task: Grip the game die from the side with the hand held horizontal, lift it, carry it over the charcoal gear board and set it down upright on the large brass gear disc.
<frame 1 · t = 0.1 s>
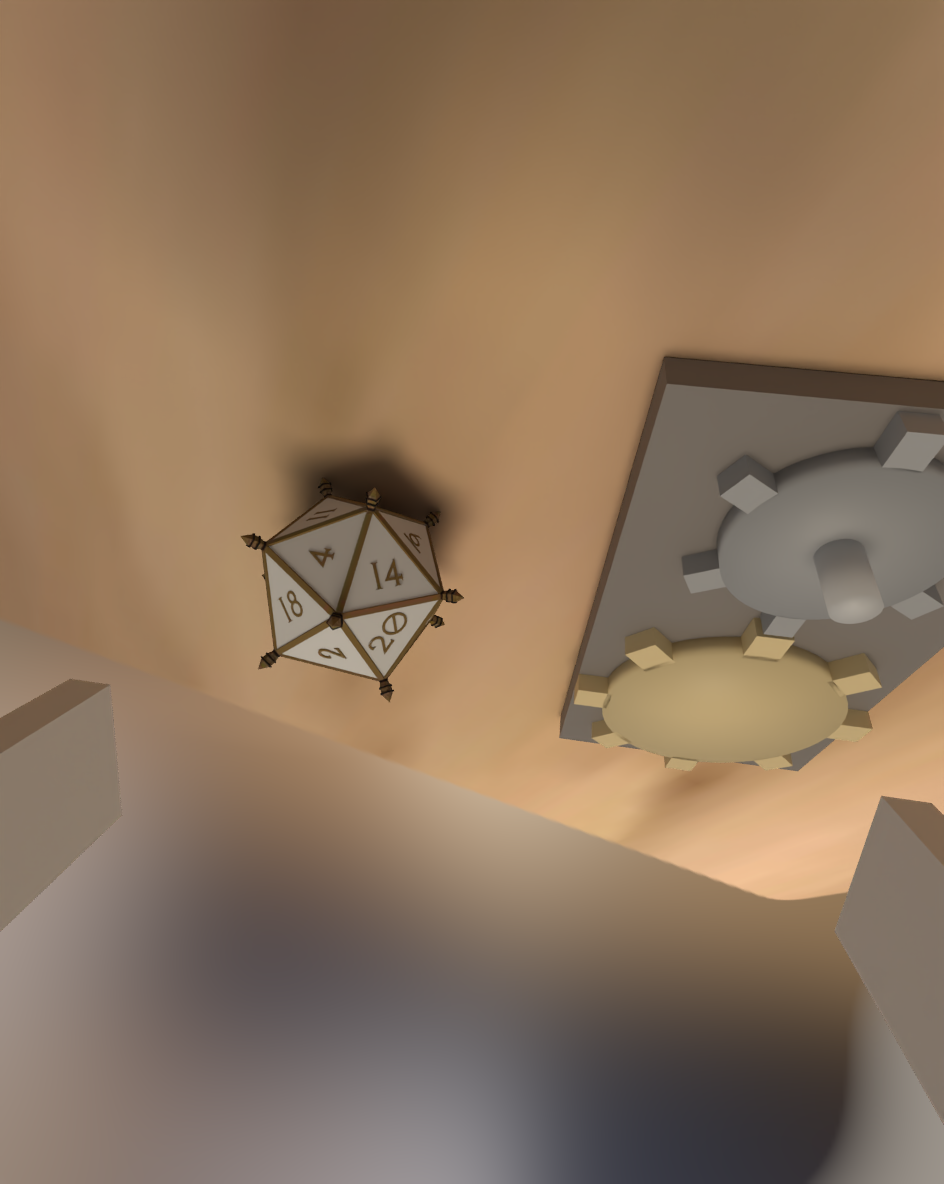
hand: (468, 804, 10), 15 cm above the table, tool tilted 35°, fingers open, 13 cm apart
game die: (378, 514, 27), on the table
gear board: (750, 618, 29), on the table
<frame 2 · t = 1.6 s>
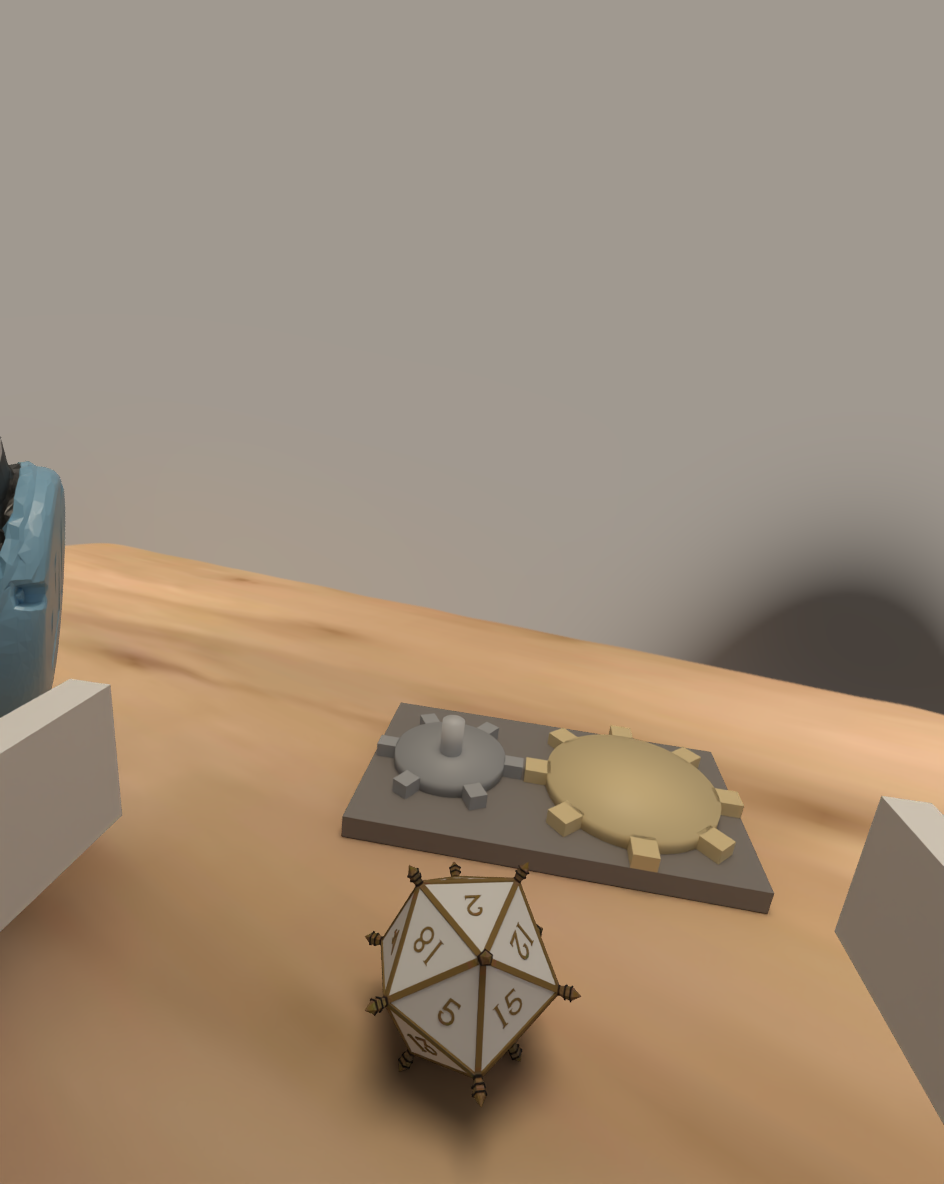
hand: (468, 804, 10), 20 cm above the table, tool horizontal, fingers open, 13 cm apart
game die: (456, 1033, 27), on the table
gear board: (548, 797, 44), on the table
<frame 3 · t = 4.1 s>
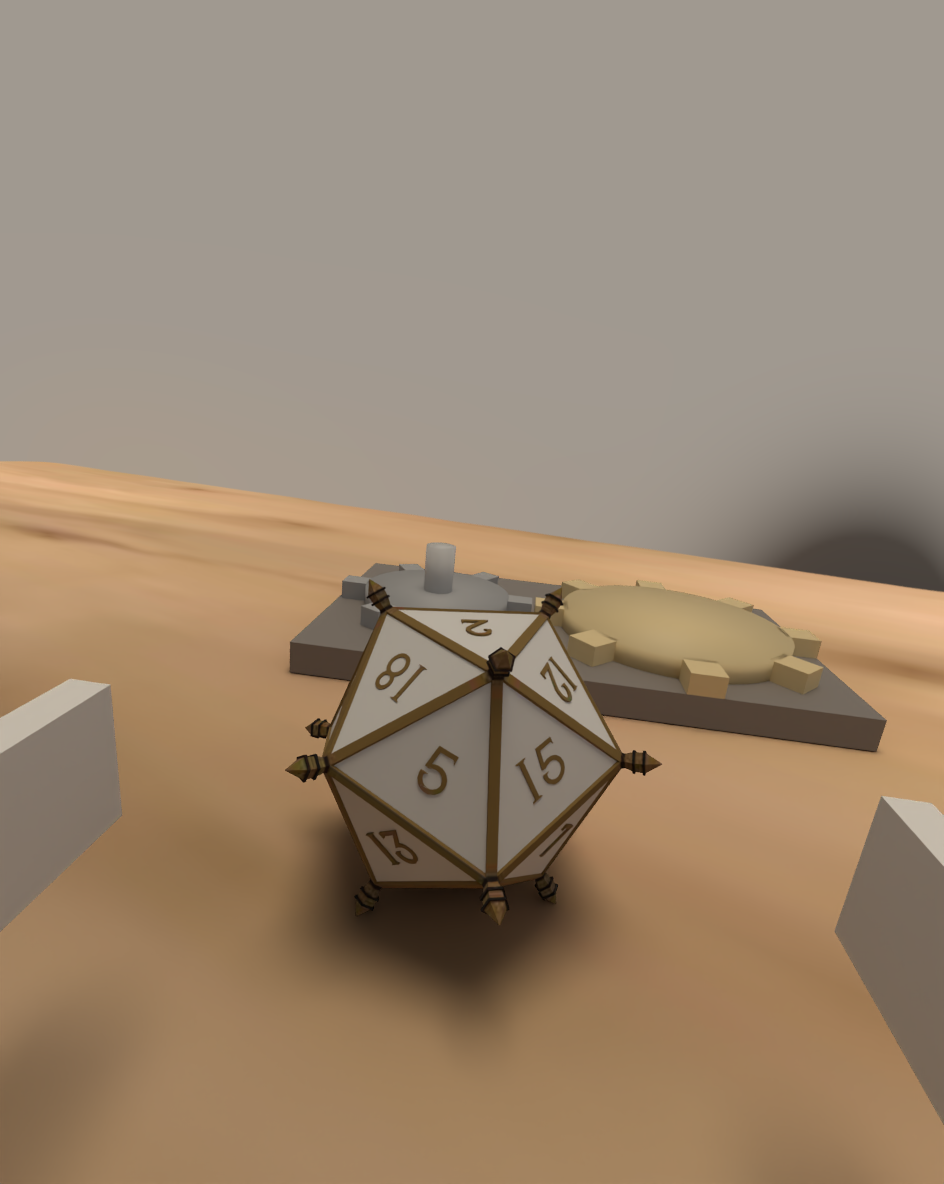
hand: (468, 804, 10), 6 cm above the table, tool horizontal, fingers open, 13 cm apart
game die: (450, 872, 17), on the table
gear board: (565, 647, 34), on the table
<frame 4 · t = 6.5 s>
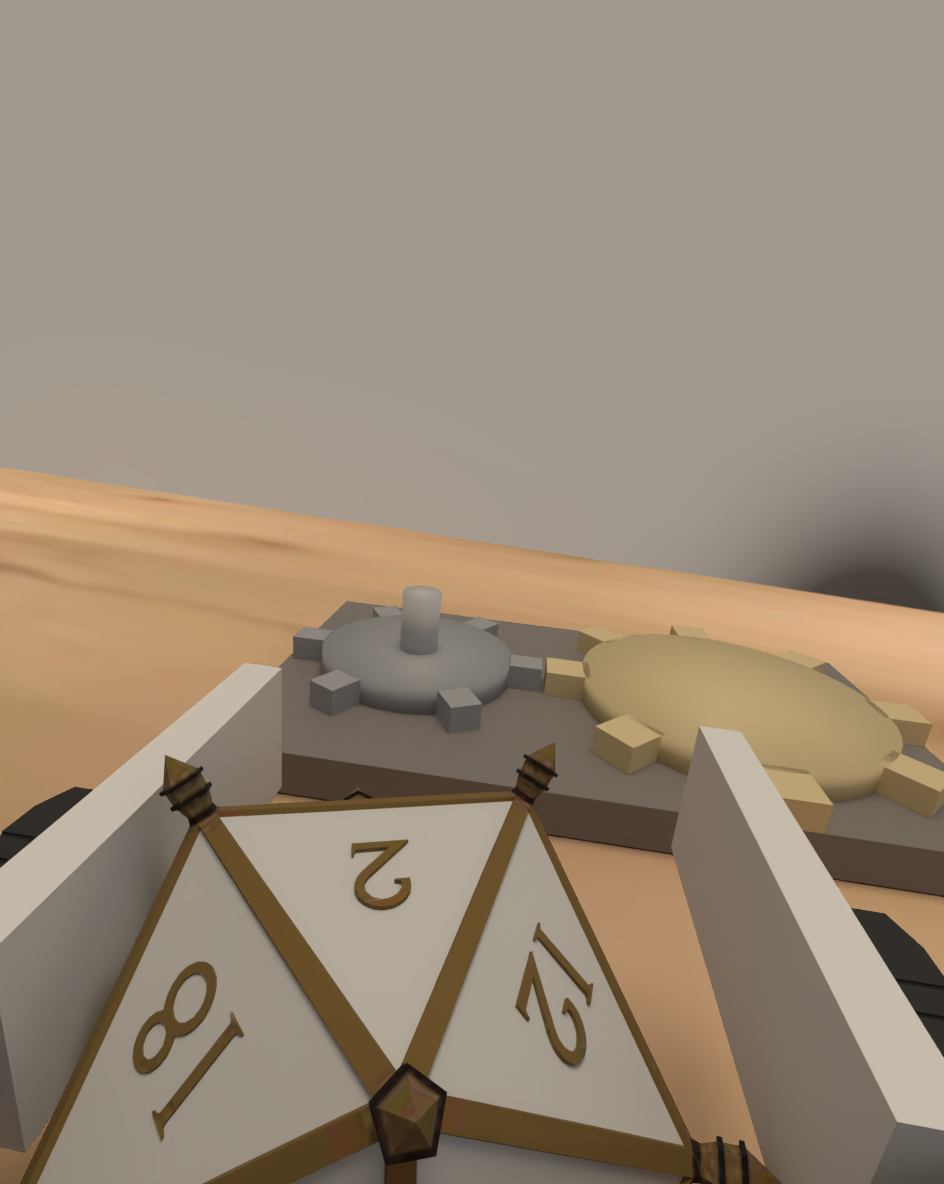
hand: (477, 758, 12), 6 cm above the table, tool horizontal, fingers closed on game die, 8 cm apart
gear board: (585, 723, 26), on the table
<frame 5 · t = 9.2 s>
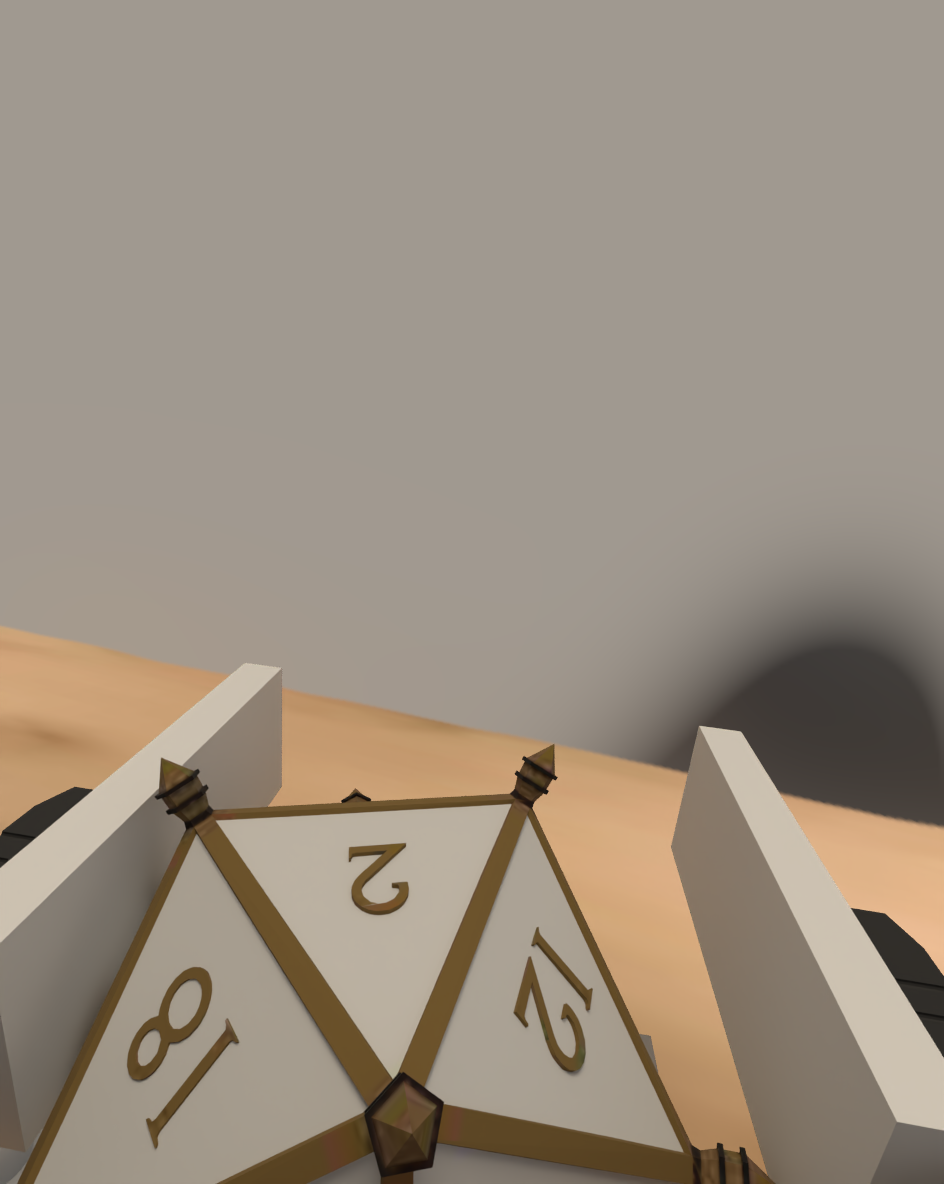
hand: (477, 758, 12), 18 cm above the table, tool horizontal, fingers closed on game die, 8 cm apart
when the fingers open (10 cm above the table, at t = 11.8 s): game die drops 2 cm, resting on gear board.
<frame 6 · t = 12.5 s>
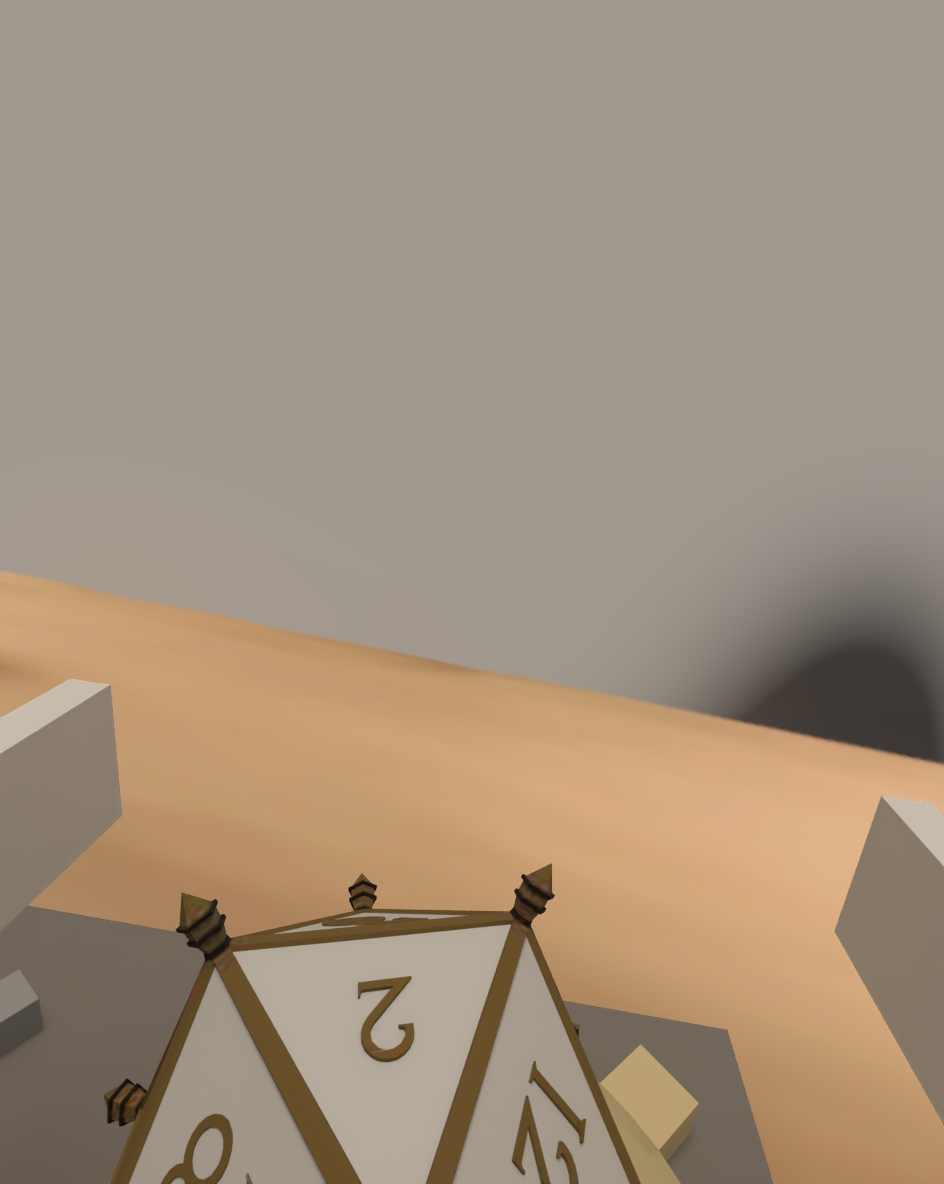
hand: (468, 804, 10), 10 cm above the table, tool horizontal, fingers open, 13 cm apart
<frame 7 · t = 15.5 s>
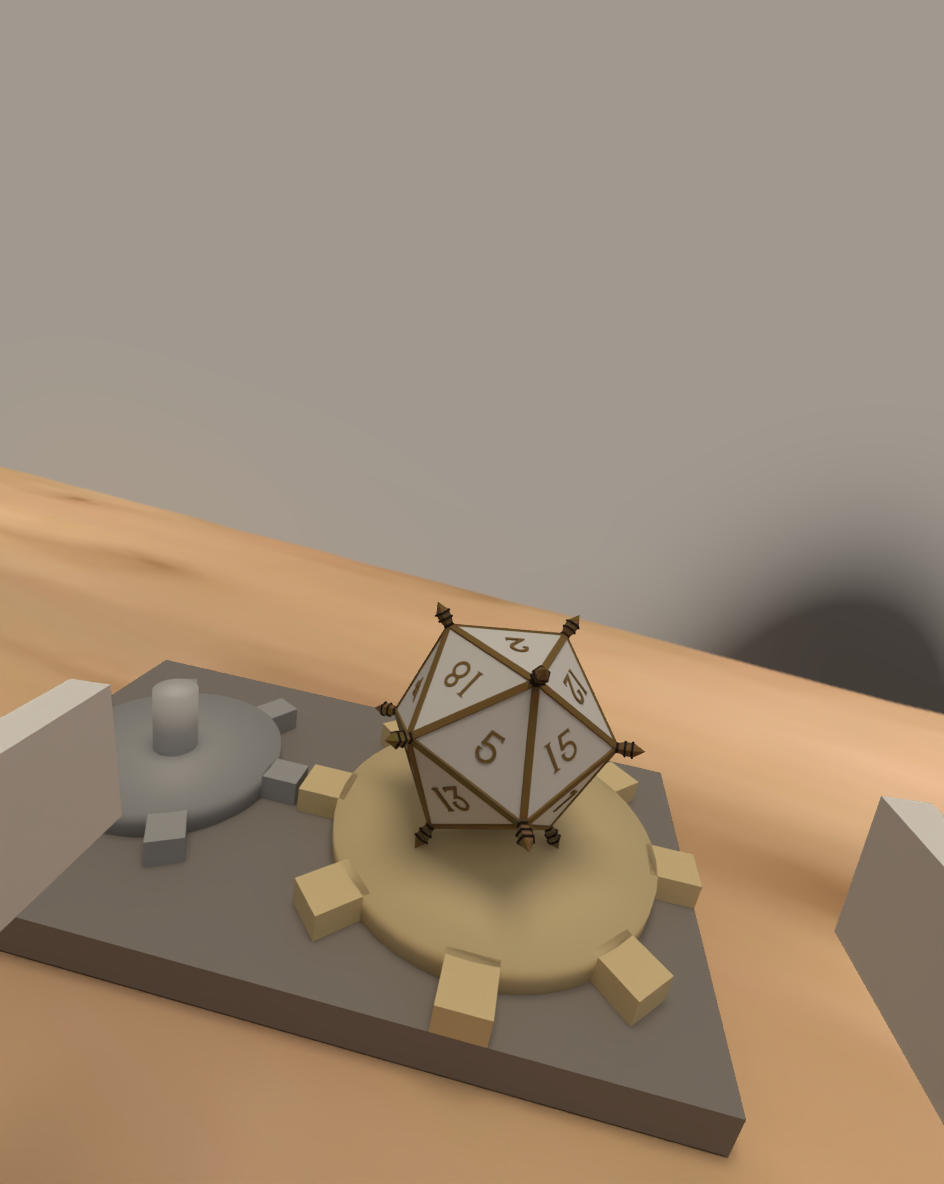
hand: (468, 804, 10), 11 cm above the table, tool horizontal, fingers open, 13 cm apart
game die: (479, 823, 23), point 2 cm above the table, touching gear board
gear board: (350, 839, 24), on the table
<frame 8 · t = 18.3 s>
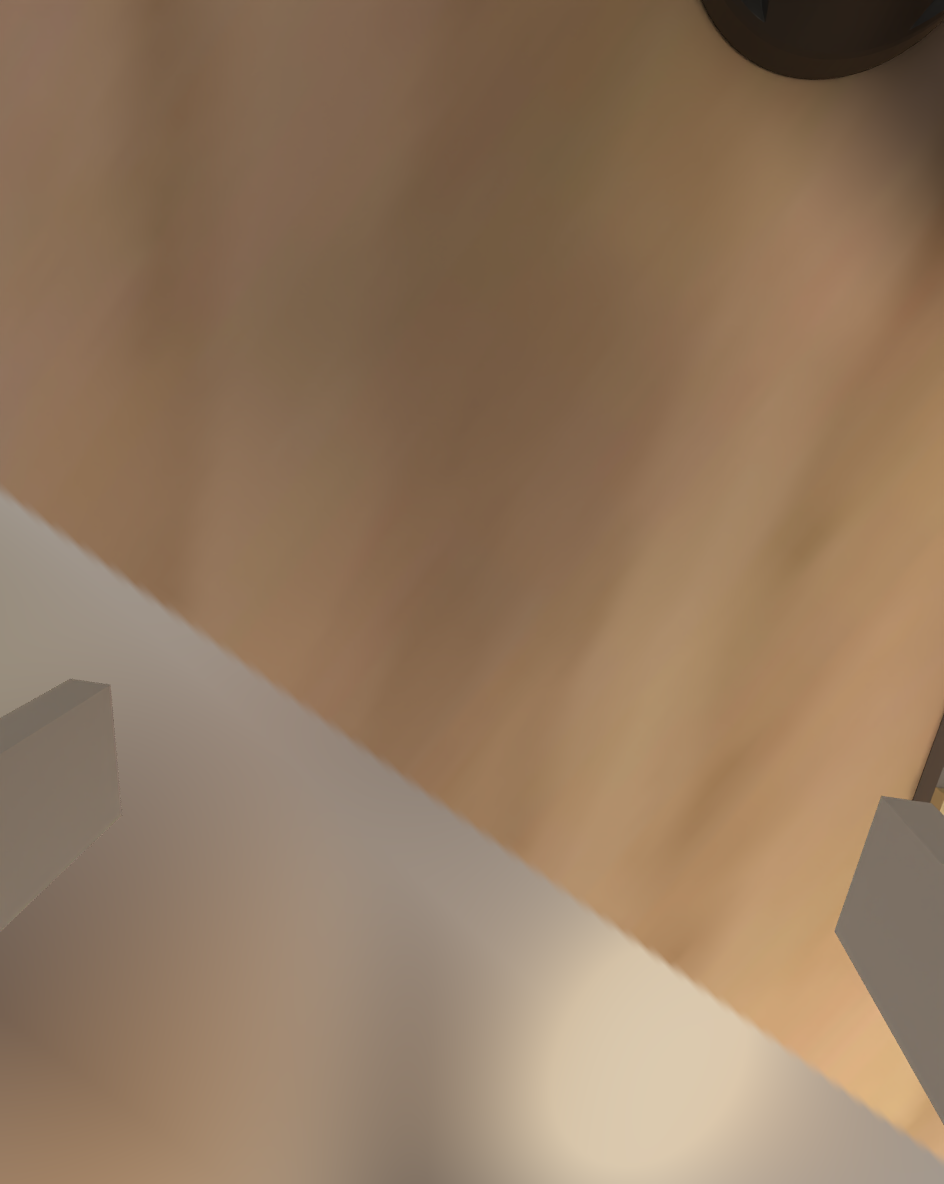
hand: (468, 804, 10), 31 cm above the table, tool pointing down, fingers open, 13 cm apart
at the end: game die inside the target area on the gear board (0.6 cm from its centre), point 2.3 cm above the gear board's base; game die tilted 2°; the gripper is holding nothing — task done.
